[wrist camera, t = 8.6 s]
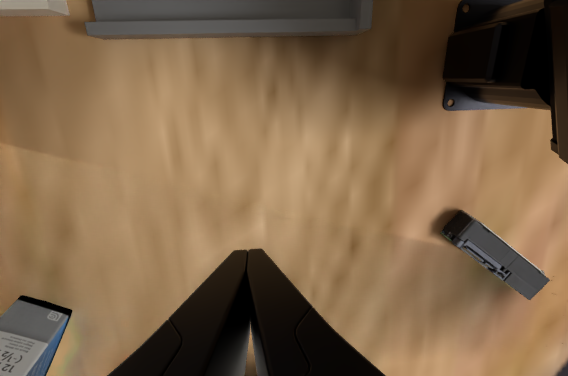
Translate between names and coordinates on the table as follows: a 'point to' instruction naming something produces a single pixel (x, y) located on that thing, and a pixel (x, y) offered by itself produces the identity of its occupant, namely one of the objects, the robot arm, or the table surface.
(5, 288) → the table surface
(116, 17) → the grey tray
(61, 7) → the cover plate
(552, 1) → the robot arm
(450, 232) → the disk drive
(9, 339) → the label tape box
